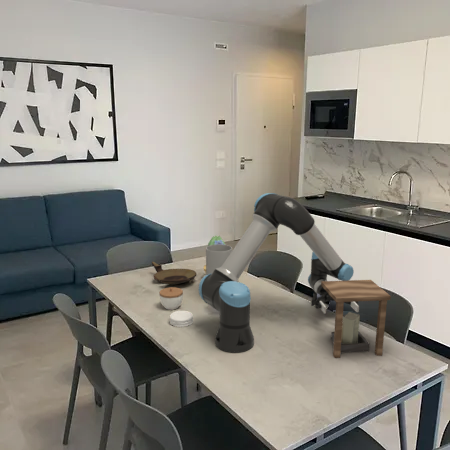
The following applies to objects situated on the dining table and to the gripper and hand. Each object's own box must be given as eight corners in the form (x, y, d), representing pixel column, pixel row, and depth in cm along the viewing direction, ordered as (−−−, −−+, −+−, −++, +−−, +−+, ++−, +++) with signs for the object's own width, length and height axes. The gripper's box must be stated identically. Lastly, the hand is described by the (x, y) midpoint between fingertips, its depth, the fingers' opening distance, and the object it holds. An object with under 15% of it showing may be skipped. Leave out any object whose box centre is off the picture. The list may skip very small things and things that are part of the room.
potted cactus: (198, 284, 238) (198, 238, 232) (209, 275, 252) (209, 231, 246) (226, 287, 233) (226, 241, 227) (235, 278, 247) (236, 233, 241)
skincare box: (347, 340, 178) (349, 311, 175) (358, 343, 175) (360, 314, 172) (340, 346, 173) (342, 316, 170) (351, 349, 170) (353, 320, 168)
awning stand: (385, 356, 166) (390, 296, 160) (332, 358, 164) (336, 298, 158) (366, 334, 182) (370, 279, 177) (318, 336, 180) (321, 281, 175)
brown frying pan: (163, 293, 225) (163, 279, 223) (144, 275, 251) (144, 262, 249) (204, 286, 235) (204, 272, 234) (182, 269, 261) (181, 257, 259)
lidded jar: (186, 309, 206) (185, 290, 204) (163, 313, 202) (162, 293, 200) (179, 301, 215) (179, 282, 213) (157, 304, 212) (156, 285, 209)
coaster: (196, 318, 197) (196, 311, 196) (188, 328, 187) (188, 321, 187) (174, 316, 199) (174, 309, 198) (166, 326, 190) (166, 318, 189)
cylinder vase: (202, 294, 224) (202, 245, 218) (226, 291, 228) (226, 243, 223) (211, 303, 213) (210, 252, 207) (235, 300, 217) (236, 250, 211)
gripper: (351, 297, 204) (370, 317, 184) (297, 299, 202) (310, 319, 181) (352, 281, 203) (372, 300, 182) (298, 283, 200) (311, 301, 179)
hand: (341, 309), depth 181 cm, fingers open, 13 cm apart
